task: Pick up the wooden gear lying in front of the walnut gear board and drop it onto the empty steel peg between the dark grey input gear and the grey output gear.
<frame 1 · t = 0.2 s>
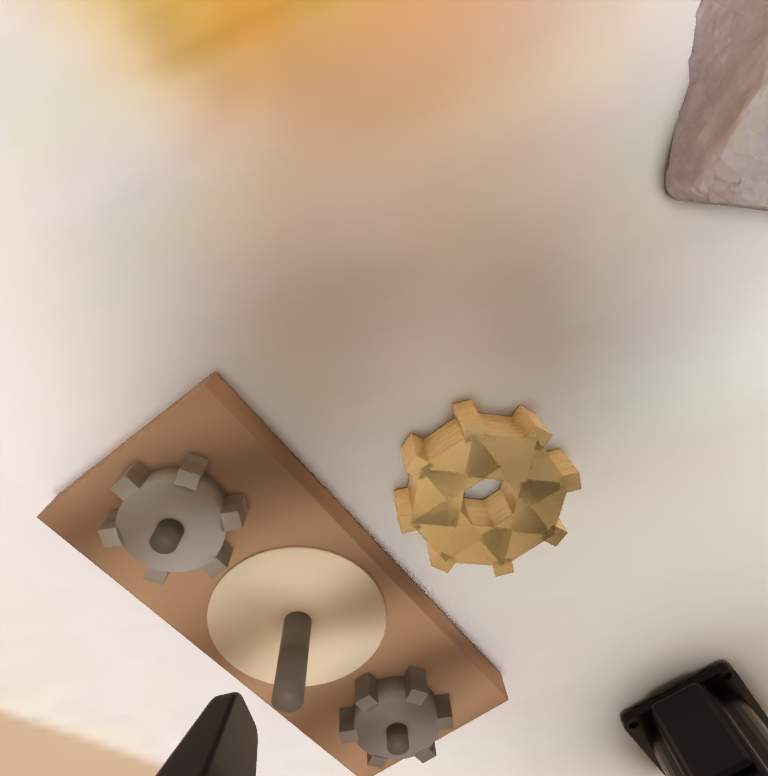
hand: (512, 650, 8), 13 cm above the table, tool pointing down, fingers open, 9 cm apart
wooden gear: (478, 477, 23), on the table
gear board: (301, 593, 25), on the table
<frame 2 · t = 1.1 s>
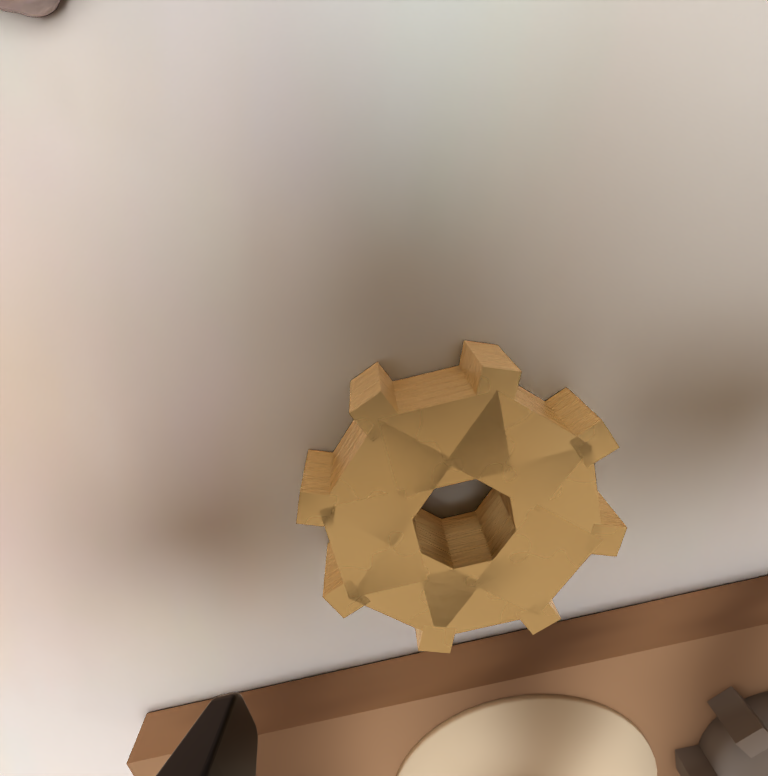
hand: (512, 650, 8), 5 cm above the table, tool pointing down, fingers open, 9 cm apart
wooden gear: (450, 479, 14), on the table
gear board: (509, 741, 17), on the table
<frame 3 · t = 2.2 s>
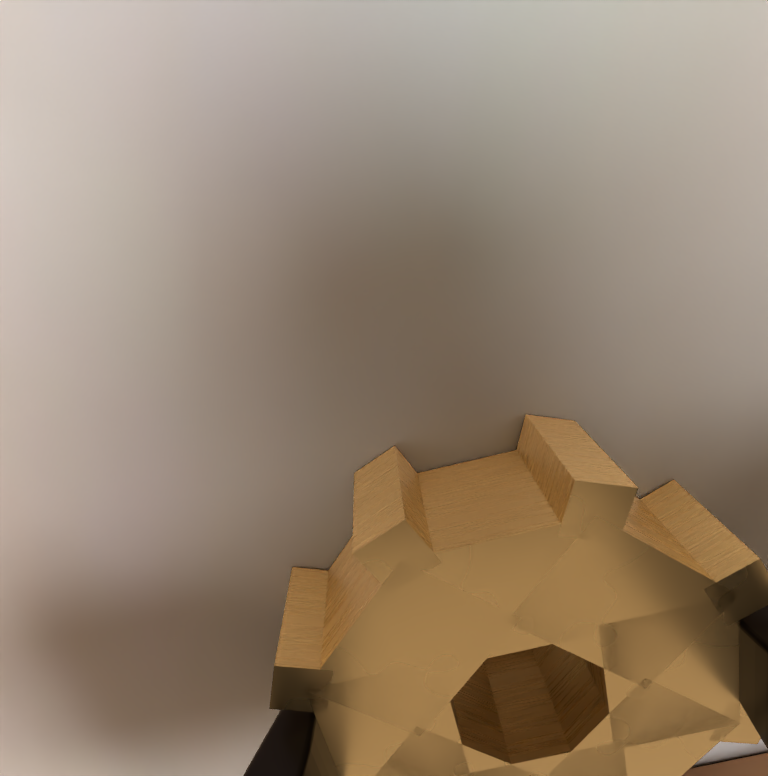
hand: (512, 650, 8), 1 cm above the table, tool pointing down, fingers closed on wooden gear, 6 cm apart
wooden gear: (497, 605, 9), on the table, touching gripper
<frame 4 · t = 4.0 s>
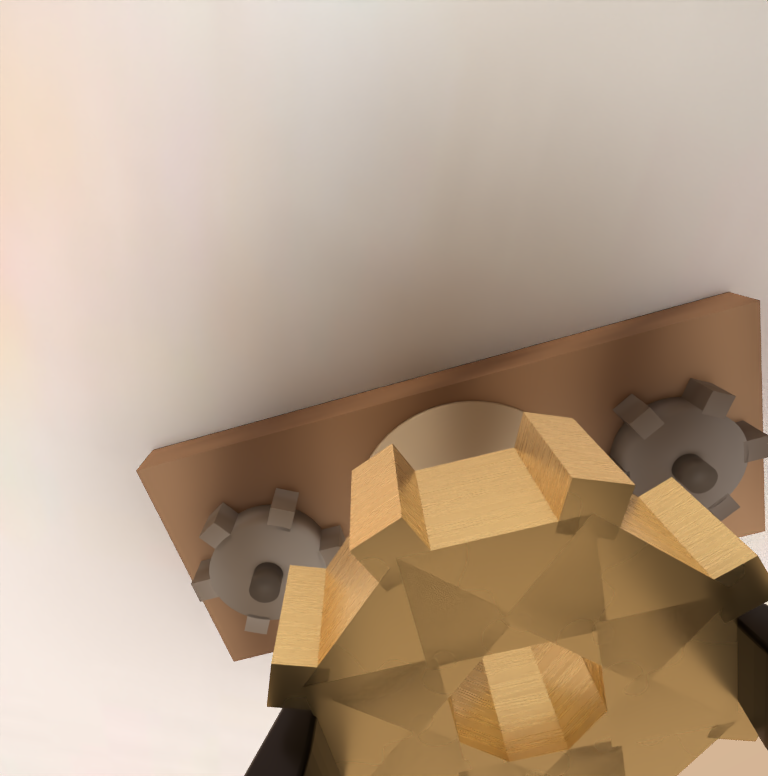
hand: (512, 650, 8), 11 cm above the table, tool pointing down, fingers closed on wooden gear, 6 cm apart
wooden gear: (495, 603, 9), point 10 cm above the table, touching gripper
gear board: (458, 480, 20), on the table
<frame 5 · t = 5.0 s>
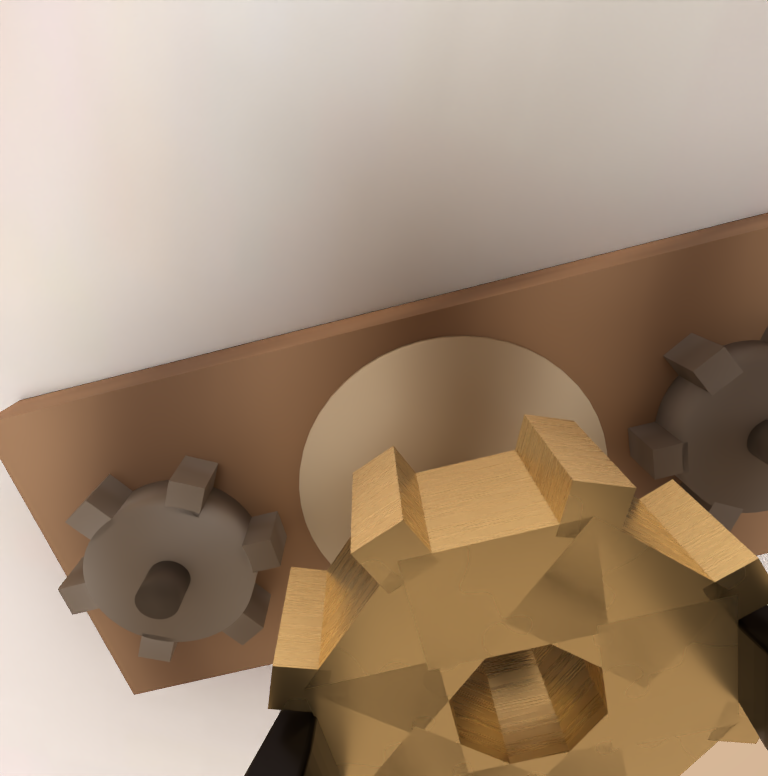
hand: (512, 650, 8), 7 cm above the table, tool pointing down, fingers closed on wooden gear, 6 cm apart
wooden gear: (495, 604, 9), point 6 cm above the table, touching gripper
gear board: (444, 456, 15), on the table
when the fingers open (5 cm above the table, at t = 5.8 s): wooden gear drops 2 cm, resting on gear board.
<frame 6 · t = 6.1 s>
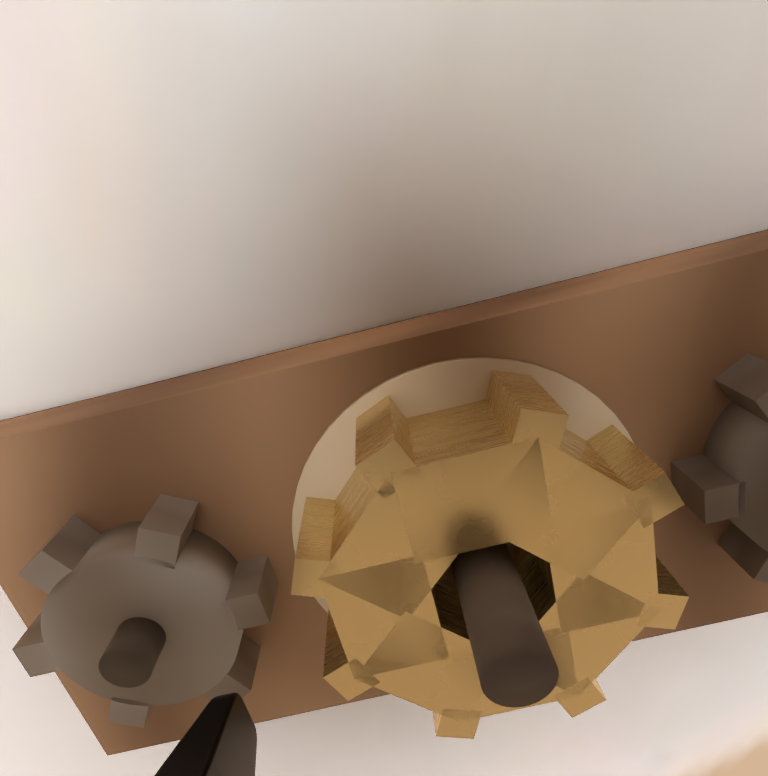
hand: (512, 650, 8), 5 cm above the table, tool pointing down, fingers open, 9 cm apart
wooden gear: (472, 530, 12), point 2 cm above the table, touching gear board
gear board: (457, 488, 13), on the table
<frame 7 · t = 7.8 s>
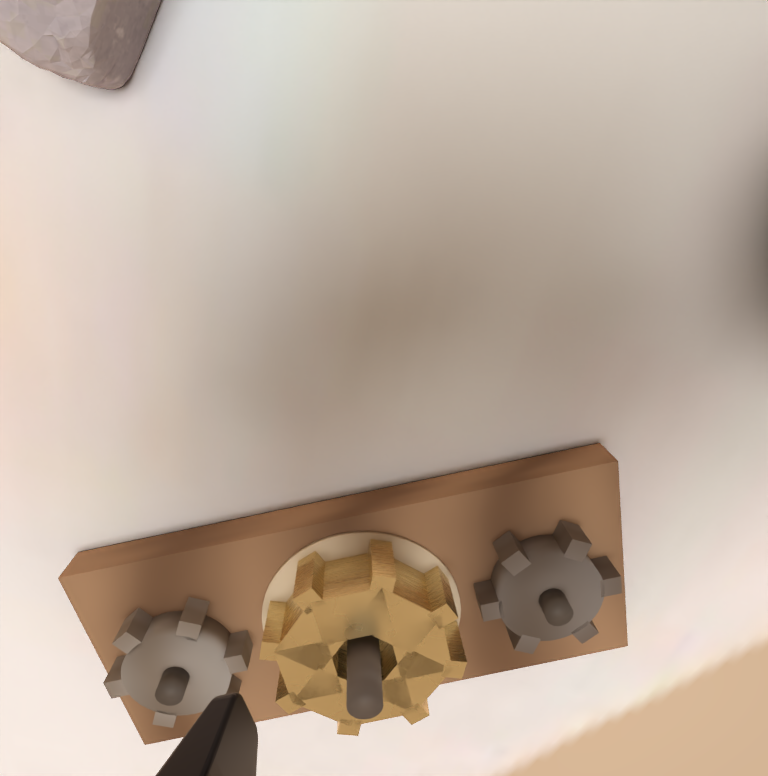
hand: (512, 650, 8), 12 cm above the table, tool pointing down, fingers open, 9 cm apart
wooden gear: (363, 618, 21), point 2 cm above the table, touching gear board
gear board: (361, 587, 22), on the table
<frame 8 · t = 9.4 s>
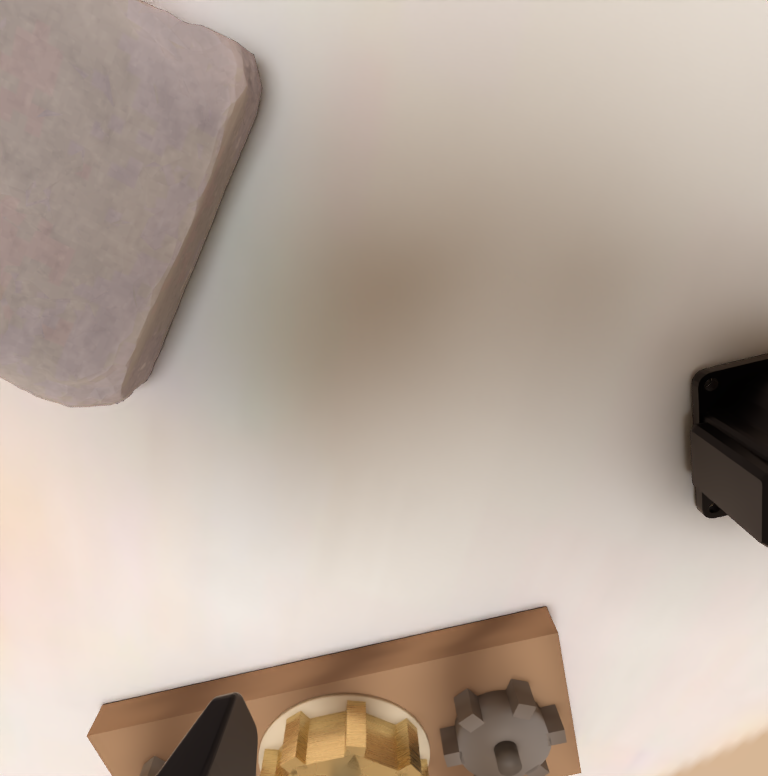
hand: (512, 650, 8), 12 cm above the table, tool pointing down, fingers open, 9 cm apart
wooden gear: (345, 760, 24), point 2 cm above the table, touching gear board
gear board: (345, 724, 26), on the table
stone block: (68, 178, 17), on the table
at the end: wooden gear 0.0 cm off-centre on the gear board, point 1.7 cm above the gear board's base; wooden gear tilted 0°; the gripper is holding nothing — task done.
